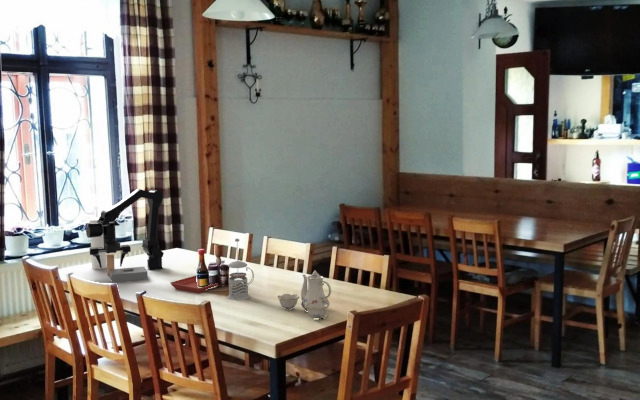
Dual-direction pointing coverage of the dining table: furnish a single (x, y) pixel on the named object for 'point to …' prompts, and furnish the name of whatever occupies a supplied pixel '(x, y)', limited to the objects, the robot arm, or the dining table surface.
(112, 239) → the robot arm
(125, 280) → the socket block
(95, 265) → the cylindrical container
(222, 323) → the dining table surface
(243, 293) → the french press
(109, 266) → the peg
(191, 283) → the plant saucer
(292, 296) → the chinaware
